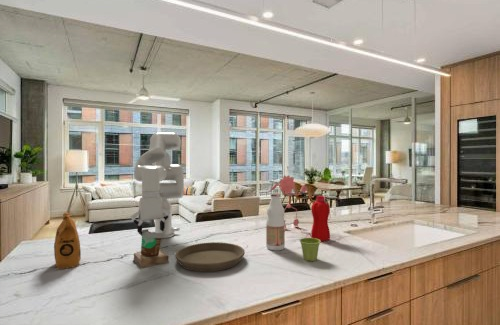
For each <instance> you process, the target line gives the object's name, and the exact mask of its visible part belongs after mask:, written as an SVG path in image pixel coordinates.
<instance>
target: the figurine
mask: <svg viewBox="0 0 500 325" xmlns="http://www.w3.org/2000/svg"><path fill="white" fill-rule="evenodd" d="M294 180H295V178H294V177H293V176H292V177H291V176H290V175H287V176H286V175H283V177H282V179H281V178H280V180H279V182H280V183H279V182H277V183H276V184H274V185H273V186H272V188H270V190H269V192H272V191H274V190H275V189H277V187H279V189H280V192H281V194H282V195H283V196H284V195H288V203H287V204H286V207H285V208H284V212H285V211H286V209H287V208H288V209H290V208H292V209H294V210H295V211H296V214H295V219H294V220H293V222H292V223H293V226H294V227H297V229H299V222H300V220H299V219H298V217H297V215H298V209H297V208H295V207H293V206H292V205H291V204H290V200H291V196H292V195H295V196H299V195H300V194H301V192H303V193H306V192H307V190H308V188H307V185H305V184H303V185H302V186H301V189H300V191H299V192H298V193H297V194H296V193H294V192H293V190H296V186H295V185H296V182H295V181H294ZM284 221H285V222H286V220H285V219H284ZM306 228H307V227H306ZM285 231H287V224H285Z"/></svg>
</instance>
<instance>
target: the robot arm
mask: <svg viewBox="0 0 500 325" xmlns="http://www.w3.org/2000/svg"><path fill="white" fill-rule="evenodd" d="M181 146H182V140H181V137H180V135H178V134H177V133H175V132H156V133H154V134H152V136H150V137H149V146H148V148H149V149H148V150H147V151H146V152H144V153H143V154H141V155H140V156H139V157H138V159H137V160H136V162H135V166H134V171H133V176H134V179H135V181H137V182H141V197H140V198H139V201H138V202H139V203H138V211H137V212H135V213H133V214H132V215H131V216H130V218H131V220H132V223H133V222H134V224H135V225H136V226H137V234H139V235H140V236H141V234H142V230H143V225H142V224H143V222H146V221H147V222H148V221H154V232H155V233H163V238H162V239H168V238H171V237H174V236H175V232H179V231H180V230H181V229H180V227H172V226H173V223H172V218H173V217H172V215H173V214H172V211H173V210H172V209H173V208H172V203H170V201H169V199H170V200H172V199H173V200H175V199H176V200H177V199H181V198H183V197H184V192H185V190H184V189H185V185H184V184H185V183H184V182H185V181H184V179H185V176H184V175H185V174H184V169H183V166H182V165H180V164H171V163H172V162H171V159H172V158H171V155H170V153H169V152H168V151H178V150H180V148H181ZM151 164H155V165H151ZM162 181H174V182H162ZM137 217H138V220H137V219H136V218H137Z"/></svg>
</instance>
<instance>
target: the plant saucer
mask: <svg viewBox="0 0 500 325" xmlns="http://www.w3.org/2000/svg"><path fill="white" fill-rule="evenodd" d="M244 256H245V249H244V248H243V247H242V246H240V245H237V244H234V243H231V242H230V243H227V242H218V241H217V242H214V241H213V242H201V243H196V244H195V243H194V244H191V245H186V246H183V247H182V248H180V249H178V250H177V251H176V252H175V254H174V257H175V258H174V259H176V262H178V263H179V264H180V266H181V267H183V268H184V269H187V270H190V271H195V272H206V273H207V272H218V271H224V270H227V269H230V268H233V267H235V266H236V265H238V264H239V262H240V261H241V260H242V259H243V257H244Z"/></svg>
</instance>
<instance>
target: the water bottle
mask: <svg viewBox="0 0 500 325" xmlns="http://www.w3.org/2000/svg"><path fill="white" fill-rule="evenodd" d="M325 199H326V197H325V195H317V196H316V201H314V202H313V203H312V205H311V216H312V220H313V223H312V227H311V234H310V236H311V237H310V238H316V239H319V240H320V241H321V242H327V241H329V240H330V239H331V234H330V228H329V223H328V222H329V217H330V214H331V208H330V205H329V203H328V202H327V201H325ZM321 242H320V243H321Z"/></svg>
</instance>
